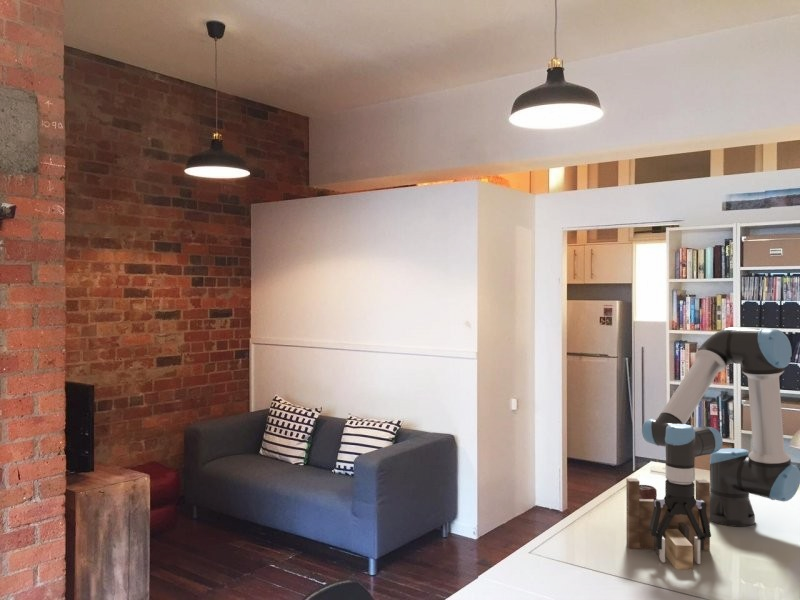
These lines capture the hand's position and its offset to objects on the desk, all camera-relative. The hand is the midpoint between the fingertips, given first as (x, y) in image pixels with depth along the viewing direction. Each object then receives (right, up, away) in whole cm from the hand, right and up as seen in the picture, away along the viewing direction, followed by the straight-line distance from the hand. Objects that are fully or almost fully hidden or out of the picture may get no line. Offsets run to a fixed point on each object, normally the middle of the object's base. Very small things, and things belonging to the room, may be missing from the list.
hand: (679, 560), depth 186 cm
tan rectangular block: (0, -1, +2) cm, 2 cm away
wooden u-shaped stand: (+1, 0, +9) cm, 9 cm away
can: (0, 0, +25) cm, 25 cm away
